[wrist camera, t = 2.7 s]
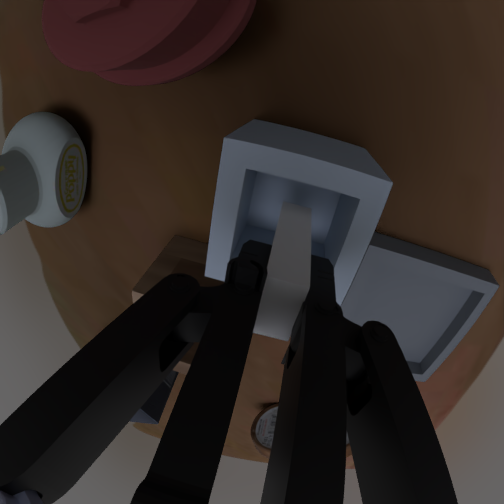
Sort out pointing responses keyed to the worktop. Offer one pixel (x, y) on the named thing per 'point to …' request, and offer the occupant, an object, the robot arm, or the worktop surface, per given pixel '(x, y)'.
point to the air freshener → (41, 172)
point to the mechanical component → (142, 36)
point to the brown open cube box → (178, 261)
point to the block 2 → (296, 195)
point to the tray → (418, 299)
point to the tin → (271, 431)
